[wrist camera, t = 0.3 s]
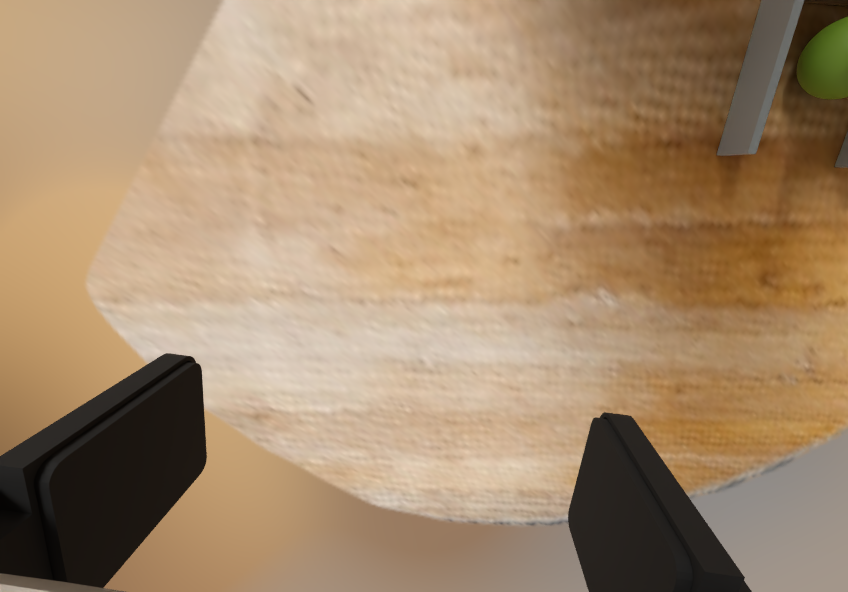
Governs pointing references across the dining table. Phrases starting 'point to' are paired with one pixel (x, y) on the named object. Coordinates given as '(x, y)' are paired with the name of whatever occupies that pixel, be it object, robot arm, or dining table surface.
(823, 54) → the snail figurine
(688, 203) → the dining table surface
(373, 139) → the dining table surface
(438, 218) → the dining table surface
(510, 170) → the dining table surface
